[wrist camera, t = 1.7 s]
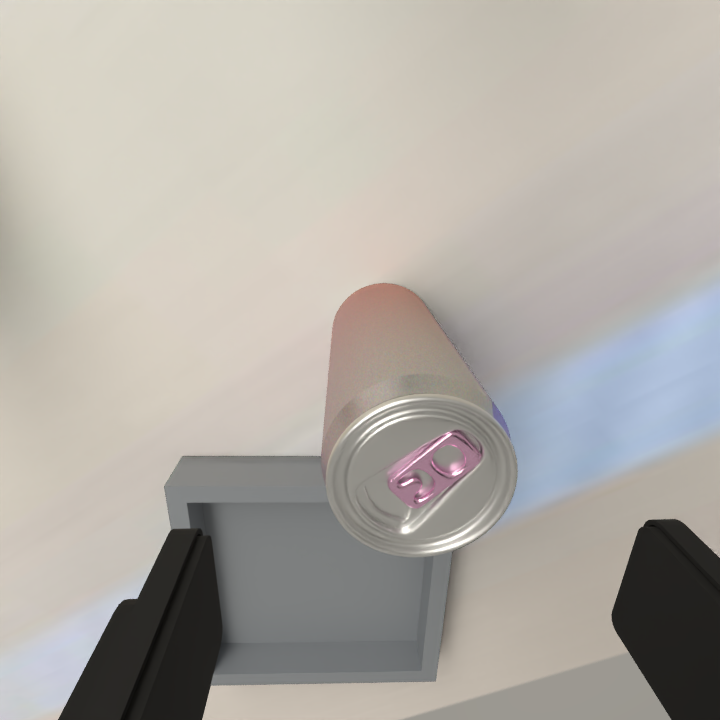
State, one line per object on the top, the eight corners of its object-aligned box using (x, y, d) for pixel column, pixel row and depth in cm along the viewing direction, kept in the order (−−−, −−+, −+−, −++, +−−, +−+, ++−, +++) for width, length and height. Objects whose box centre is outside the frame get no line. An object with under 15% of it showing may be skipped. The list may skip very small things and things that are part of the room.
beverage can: (450, 331, 27) (565, 485, 13) (378, 392, 28) (411, 592, 14) (385, 259, 25) (436, 347, 11) (312, 328, 27) (275, 483, 13)
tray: (449, 456, 30) (460, 486, 27) (428, 641, 37) (435, 681, 34) (182, 456, 29) (164, 486, 26) (209, 644, 36) (197, 685, 33)
